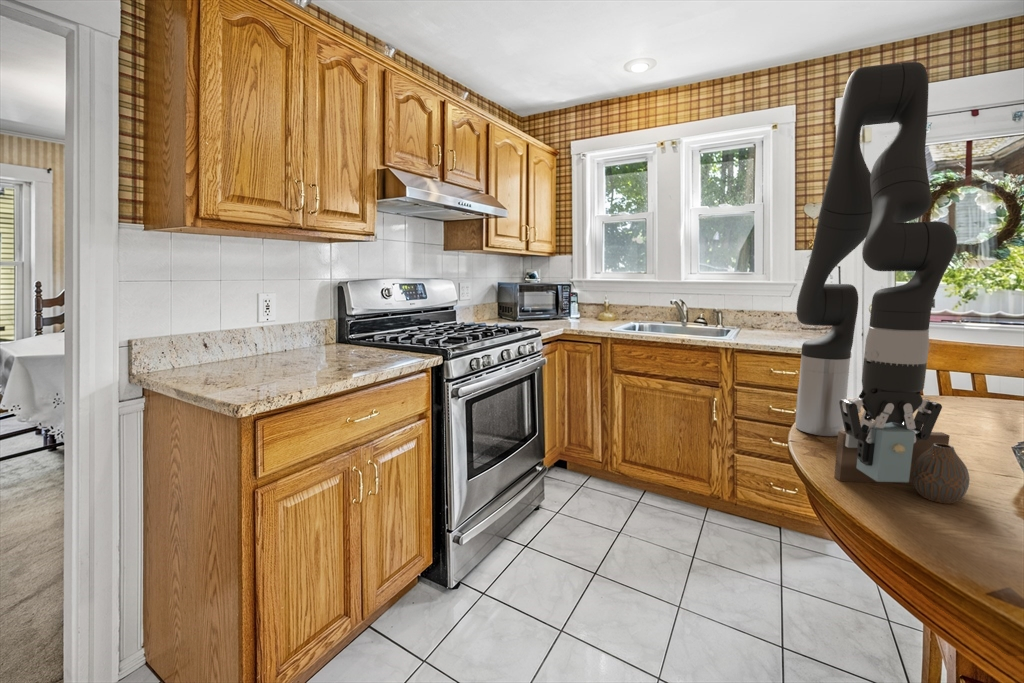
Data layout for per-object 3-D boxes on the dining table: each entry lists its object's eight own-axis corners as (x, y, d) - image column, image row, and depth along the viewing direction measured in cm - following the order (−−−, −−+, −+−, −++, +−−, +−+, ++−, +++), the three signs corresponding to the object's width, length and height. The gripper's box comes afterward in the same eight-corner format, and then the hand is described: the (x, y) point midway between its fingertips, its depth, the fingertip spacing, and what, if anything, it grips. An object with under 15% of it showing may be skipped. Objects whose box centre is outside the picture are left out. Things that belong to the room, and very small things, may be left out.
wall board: (834, 477, 85) (838, 430, 84) (936, 479, 84) (941, 432, 83) (839, 481, 83) (844, 433, 82) (943, 483, 82) (949, 435, 81)
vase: (909, 499, 76) (915, 446, 75) (908, 484, 82) (914, 435, 81) (968, 512, 72) (976, 456, 71) (963, 496, 78) (970, 443, 76)
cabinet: (843, 459, 82) (848, 414, 81) (872, 460, 82) (877, 414, 80) (880, 484, 73) (886, 433, 72) (912, 484, 72) (919, 433, 71)
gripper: (925, 352, 76) (912, 455, 79) (831, 352, 77) (821, 454, 80) (966, 362, 69) (950, 475, 71) (861, 362, 70) (849, 473, 72)
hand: (882, 463), depth 76 cm, fingers closed on cabinet, 4 cm apart
